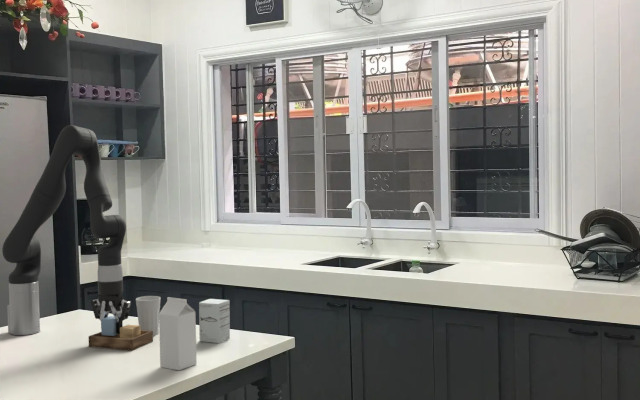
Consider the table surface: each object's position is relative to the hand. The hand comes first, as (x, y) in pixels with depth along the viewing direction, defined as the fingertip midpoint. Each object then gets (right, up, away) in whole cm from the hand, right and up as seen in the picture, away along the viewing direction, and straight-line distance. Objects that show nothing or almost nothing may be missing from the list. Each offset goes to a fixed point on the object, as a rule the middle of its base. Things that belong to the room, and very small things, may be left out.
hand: (111, 332), depth 224 cm
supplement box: (+32, -3, +3) cm, 32 cm away
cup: (+9, -3, +12) cm, 15 cm away
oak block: (+6, -3, -2) cm, 7 cm away
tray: (+3, -3, -1) cm, 5 cm away
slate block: (0, 0, 0) cm, 0 cm away
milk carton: (+26, -5, -26) cm, 37 cm away
